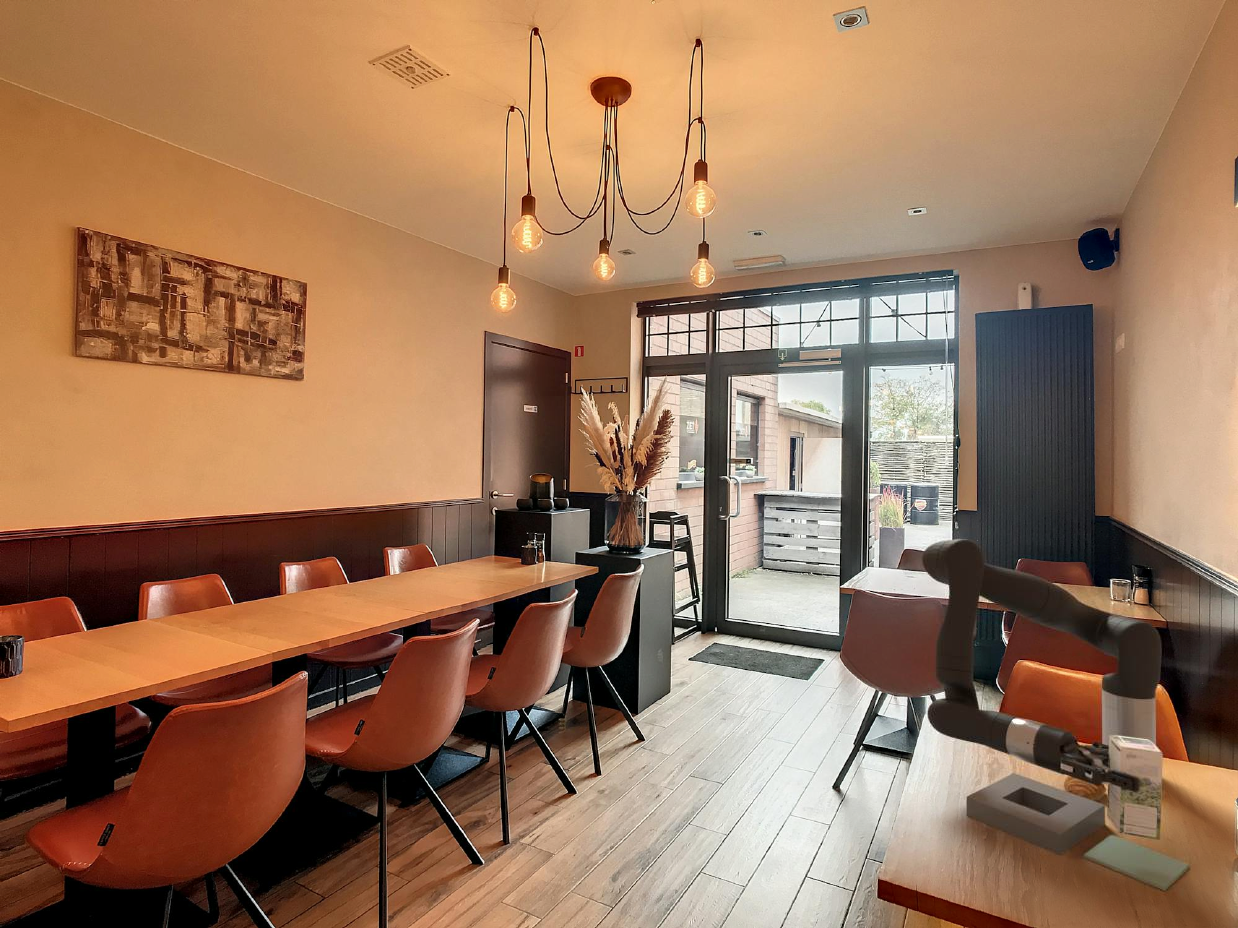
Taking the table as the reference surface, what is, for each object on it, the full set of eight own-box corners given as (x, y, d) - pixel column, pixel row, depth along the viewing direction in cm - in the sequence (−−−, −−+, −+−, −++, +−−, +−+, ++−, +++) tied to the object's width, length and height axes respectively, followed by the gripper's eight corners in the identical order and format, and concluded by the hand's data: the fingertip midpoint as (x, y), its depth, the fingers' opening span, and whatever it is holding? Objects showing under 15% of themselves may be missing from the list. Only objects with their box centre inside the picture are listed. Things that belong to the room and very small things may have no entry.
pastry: (1099, 810, 130) (1099, 790, 130) (1058, 798, 134) (1057, 779, 134) (1107, 793, 137) (1106, 774, 137) (1067, 783, 141) (1067, 764, 141)
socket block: (1013, 790, 137) (1013, 772, 137) (1105, 823, 124) (1104, 804, 124) (966, 815, 127) (966, 796, 127) (1060, 854, 114) (1060, 833, 114)
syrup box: (1146, 823, 114) (1148, 737, 114) (1161, 841, 108) (1163, 750, 109) (1106, 817, 116) (1108, 732, 116) (1119, 834, 110) (1120, 745, 110)
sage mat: (1110, 837, 120) (1110, 834, 120) (1189, 867, 111) (1189, 864, 111) (1084, 857, 113) (1083, 854, 113) (1164, 890, 104) (1164, 887, 104)
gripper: (1022, 731, 120) (1131, 766, 107) (1058, 716, 128) (1165, 746, 115) (1021, 774, 120) (1131, 814, 106) (1058, 756, 128) (1164, 791, 115)
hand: (1148, 779), depth 111 cm, fingers closed on syrup box, 7 cm apart
